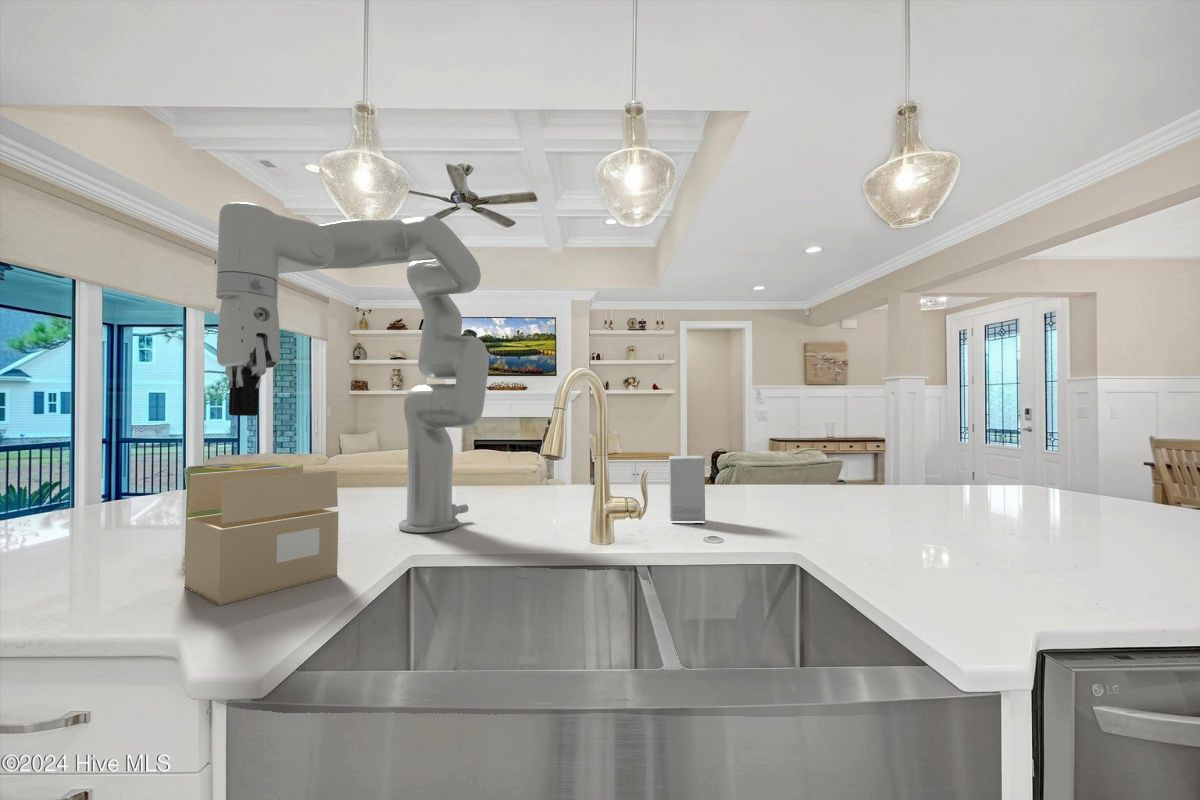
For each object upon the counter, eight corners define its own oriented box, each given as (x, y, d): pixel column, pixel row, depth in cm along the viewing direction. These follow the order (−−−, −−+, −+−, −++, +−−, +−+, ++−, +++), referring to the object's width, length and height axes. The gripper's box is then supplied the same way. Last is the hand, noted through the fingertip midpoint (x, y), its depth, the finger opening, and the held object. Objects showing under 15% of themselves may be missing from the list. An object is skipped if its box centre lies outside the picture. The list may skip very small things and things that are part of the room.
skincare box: (702, 519, 129) (703, 455, 129) (705, 525, 122) (706, 458, 123) (668, 518, 130) (669, 454, 130) (669, 524, 123) (670, 457, 123)
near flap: (335, 470, 84) (336, 470, 83) (336, 506, 83) (337, 506, 83) (221, 481, 71) (222, 480, 70) (221, 523, 70) (222, 523, 70)
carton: (299, 561, 90) (300, 502, 90) (337, 575, 83) (338, 511, 83) (184, 587, 77) (186, 518, 77) (219, 606, 70) (220, 529, 70)
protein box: (257, 561, 90) (259, 469, 90) (183, 554, 93) (185, 466, 94) (303, 545, 100) (305, 463, 101) (235, 540, 104) (237, 461, 104)
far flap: (299, 498, 90) (298, 498, 90) (302, 465, 89) (301, 465, 90) (188, 512, 77) (187, 512, 77) (191, 474, 77) (190, 474, 77)
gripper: (299, 290, 77) (295, 416, 76) (253, 301, 85) (249, 415, 85) (241, 278, 71) (236, 416, 70) (197, 291, 79) (192, 414, 79)
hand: (243, 415), depth 77 cm, fingers closed
